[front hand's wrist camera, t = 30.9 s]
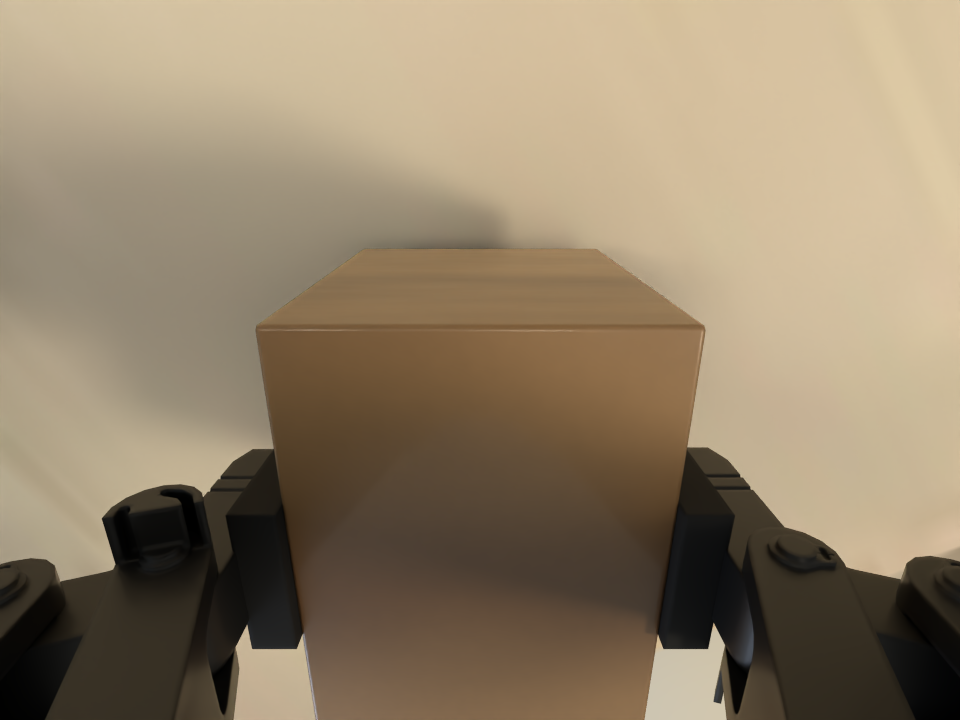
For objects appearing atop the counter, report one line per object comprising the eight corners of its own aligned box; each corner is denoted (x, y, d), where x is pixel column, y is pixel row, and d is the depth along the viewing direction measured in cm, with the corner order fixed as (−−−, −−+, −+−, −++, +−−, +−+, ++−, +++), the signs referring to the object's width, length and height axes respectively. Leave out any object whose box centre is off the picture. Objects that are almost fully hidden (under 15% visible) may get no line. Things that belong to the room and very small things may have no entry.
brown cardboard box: (362, 248, 14) (252, 325, 7) (598, 248, 14) (709, 326, 7) (383, 518, 17) (318, 750, 10) (576, 518, 17) (641, 751, 10)
